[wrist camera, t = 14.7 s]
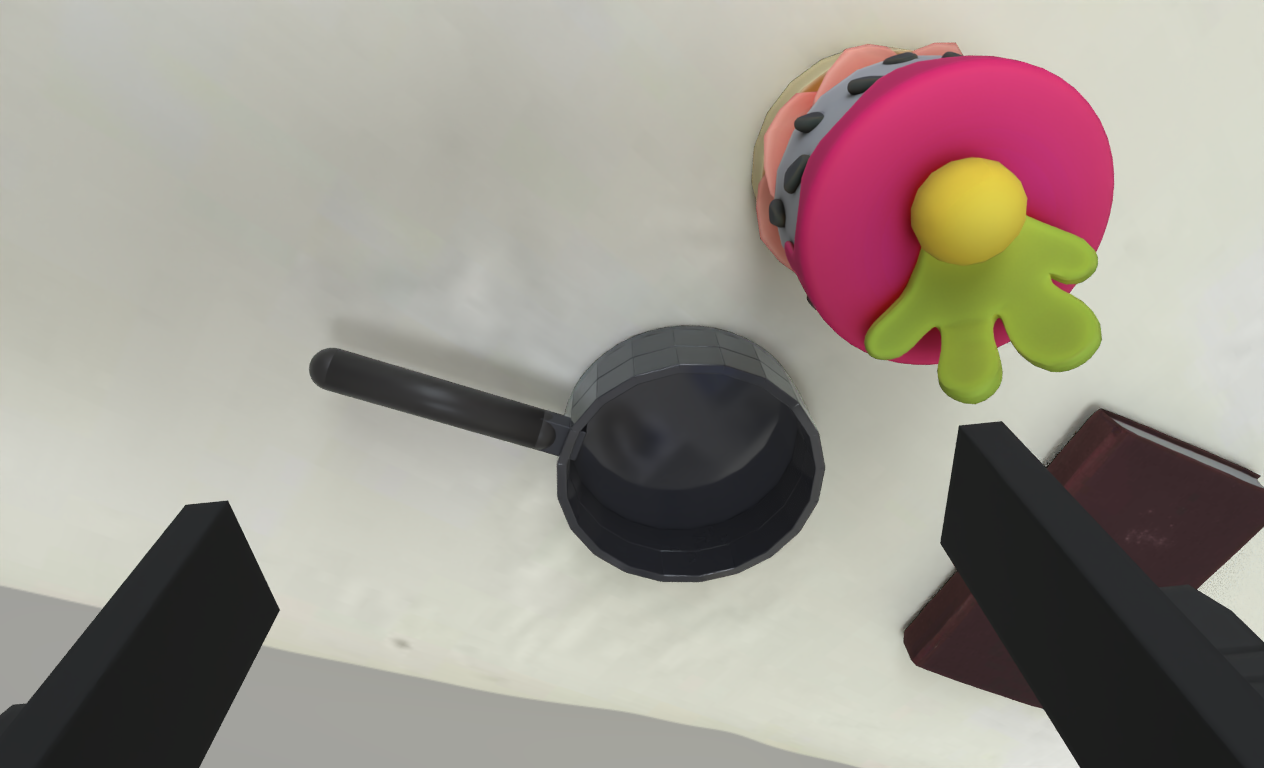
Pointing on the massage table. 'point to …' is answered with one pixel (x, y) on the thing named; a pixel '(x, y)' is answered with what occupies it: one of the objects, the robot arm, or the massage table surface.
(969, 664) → the book
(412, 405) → the pan handle
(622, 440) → the pan
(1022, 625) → the robot arm
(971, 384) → the cake
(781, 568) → the massage table surface
